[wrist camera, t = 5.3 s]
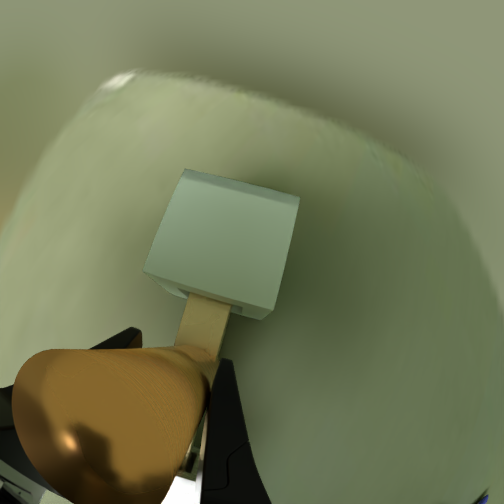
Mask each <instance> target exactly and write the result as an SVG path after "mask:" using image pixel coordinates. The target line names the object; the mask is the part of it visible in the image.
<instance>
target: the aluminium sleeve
mask: <svg viewBox="0 0 504 504" xmlns="http://www.w3.org/2000/svg"><path fill="white" fill-rule="evenodd" d="M199 456H200V448H198V447H195V446H193V448H192V451H191V455H190V458H189V462H188V465H187V469H186V472H184V471H181V470H178V472H177V475H176V477H175V479H174V481H173V483H172V485H171V487H170V490H169V492H168V494H167V496H166V497H165V499H164V501H163V502H162V503H161V504H193V501H194V493H195V485H196V477H197V470H198V463H199Z"/></svg>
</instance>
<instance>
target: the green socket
mask: <svg viewBox="0 0 504 504" xmlns="http://www.w3.org/2000/svg"><path fill="white" fill-rule="evenodd" d="M299 202H300V197H298V196H294V195H291V194H287V193H283V192H280V191H276V190H272V189H269V188H265V187H261V186H257V185H253V184H250V183H246V182H242V181H237V180H233V179H229V178H225V177H221V176H216V175H212V174H208V173H203V172H198V171H194V170H189V169H185V170H184V172H183V174H182V176H181V178H180V180H179V182H178V185H177V187H176V189H175V191H174V193H173V196H172V198H171V200H170V203H169V205H168V207H167V209H166V212H165V214H164V217H163V219H162V221H161V224H160V226H159V229H158V231H157V234H156V236H155V239H154V241H153V244H152V246H151V249H150V252H149V254H148V257H147V260H146V262H145V265H144V268H143V272H144V273H145V274H146V275H148V276H149V277H150V278H152V279H153V280H154V281H155V282H157V283H158V284H159V285H160V286H162V287H163V288H164V289H166V290H167V291H168V292H170V293H171V294H173V295H176V296H179V297H182V298H185V299H188V297H189V294H190V292H192V293H196V294H199V295H202V296H205V297H209V298H212V299H216V300H219V301H222V302H226V303H229V304H233V307H232V310H231V312H232V313H236V314H239V315H243V316H246V317H250V318H254V319H258V320H262V319H263V318H265V317H266V316H267V315H268V314H270V313H271V312H272V311H273V310H274V307H275V303H276V299H277V295H278V291H279V287H280V283H281V279H282V275H283V271H284V267H285V263H286V259H287V254H288V250H289V246H290V242H291V237H292V233H293V229H294V224H295V220H296V215H297V211H298V206H299Z"/></svg>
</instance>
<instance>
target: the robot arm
mask: <svg viewBox="0 0 504 504" xmlns="http://www.w3.org/2000/svg"><path fill="white" fill-rule="evenodd" d="M142 345H143V344H142V332H141V330H139V329H137V328H134V327H129V328H128V329H126V330H124V331H122V332H120V333H118V334H116V335H114V336H113V337H111V338H109V339H107V340H105V341H103V342H101V343H99V344H98V345H96V346H94V347H92V348H90V349H88V350H97V349H136V348H142ZM13 386H14V384H13V385H11V386H8V387H4V388H0V504H39V503H40V501H41V499H42V497H43V495H44V493H45V491H46V489H48V490H49V491H51V492H53V493H55V494H57V495H59V496H61V497H63V496H62V495H61V494H59V493H58V492H57V491H56V490H55V489H54V488H52V487H51V486H50V485H49V484H48V483H47V482H46V481H45V479H44V478H43V477H42V476H41V475H40V474H39V472H38V471H37V470H36V468H35V467H34V466H33V464H32V463H31V461H30V460H29V458H28V456H27V455H26V453H25V451H24V449H23V447H22V445H21V442H20V440H19V437H18V435H17V431H16V428H15V424H14V419H13V413H12V392H13ZM63 498H64V497H63ZM193 504H272V503H271V501H270V499H269V497H268V494H267V492H266V490H265V488H264V485H263V483H262V481H261V478H260V476H259V473H258V470H257V468H256V465H255V462H254V458H253V454H252V451H251V446H250V442H249V438H248V434H247V429H246V425H245V420H244V415H243V411H242V406H241V401H240V396H239V391H238V386H237V381H236V376H235V371H234V366H233V362H232V360H229V359H226V358H221V359H220V362H219V365H218V368H217V371H216V374H215V377H214V380H213V384H212V388H211V392H210V396H209V401H208V405H207V409H206V415H205V421H204V428H203V435H202V441H201V448H200V456H199V463H198V470H197V477H196V485H195V493H194V501H193Z"/></svg>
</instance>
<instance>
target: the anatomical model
mask: <svg viewBox="0 0 504 504" xmlns="http://www.w3.org/2000/svg"><path fill="white" fill-rule="evenodd" d="M487 499H488V495H486V496H485V497H484V498H483V499H482V500H481V501H480V502H478V503H477V504H486V502H487Z"/></svg>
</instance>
